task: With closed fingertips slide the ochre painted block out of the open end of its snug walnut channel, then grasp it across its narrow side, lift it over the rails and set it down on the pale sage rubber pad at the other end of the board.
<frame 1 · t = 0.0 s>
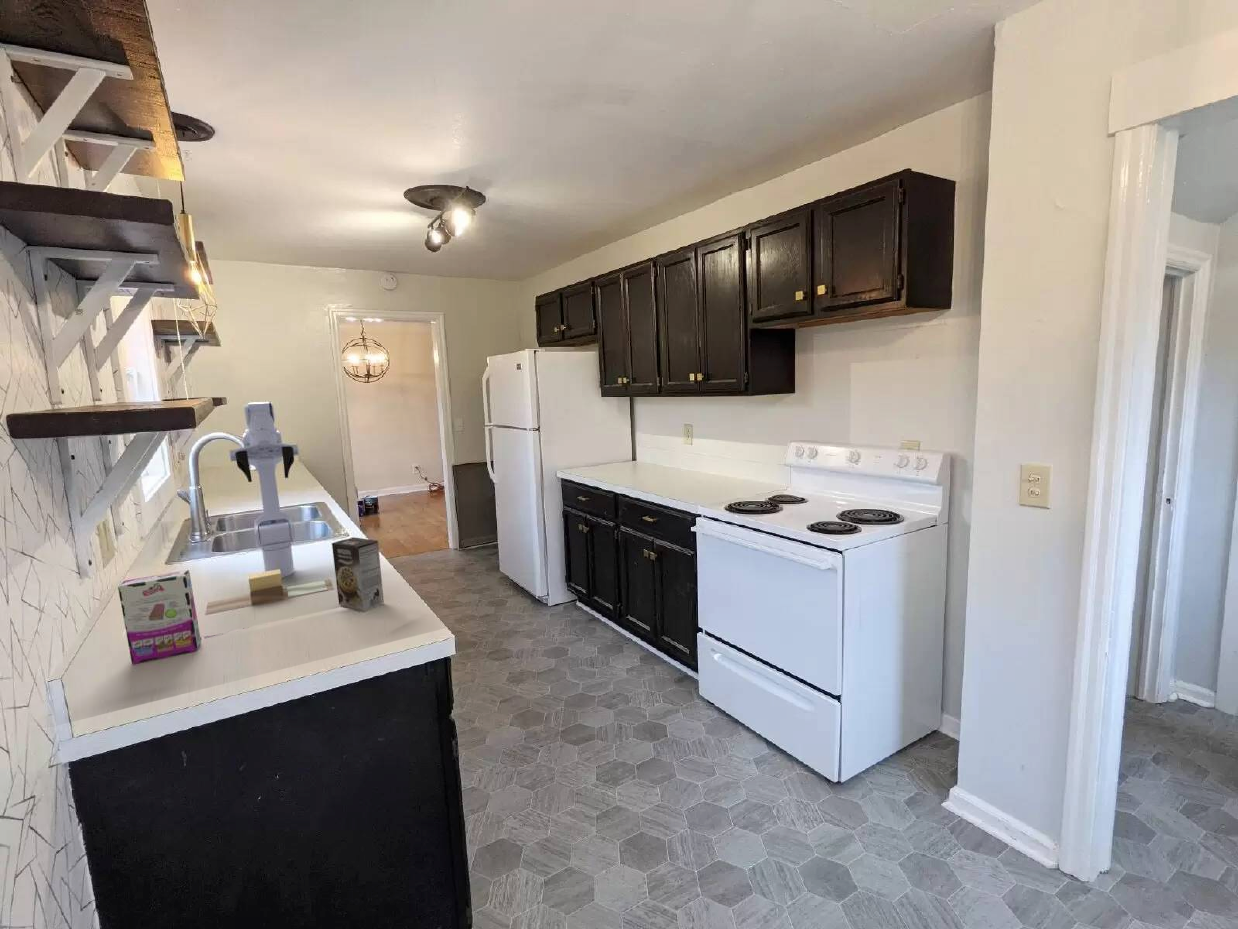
hand: (268, 477, 144), 32 cm above the worktop, tool tilted 50°, fingers open, 7 cm apart
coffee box: (361, 606, 147), on the worktop
candy bar box: (167, 654, 124), on the worktop
ochre block: (267, 596, 154), point 1 cm above the worktop, touching pocket board
pocket board: (272, 598, 154), on the worktop
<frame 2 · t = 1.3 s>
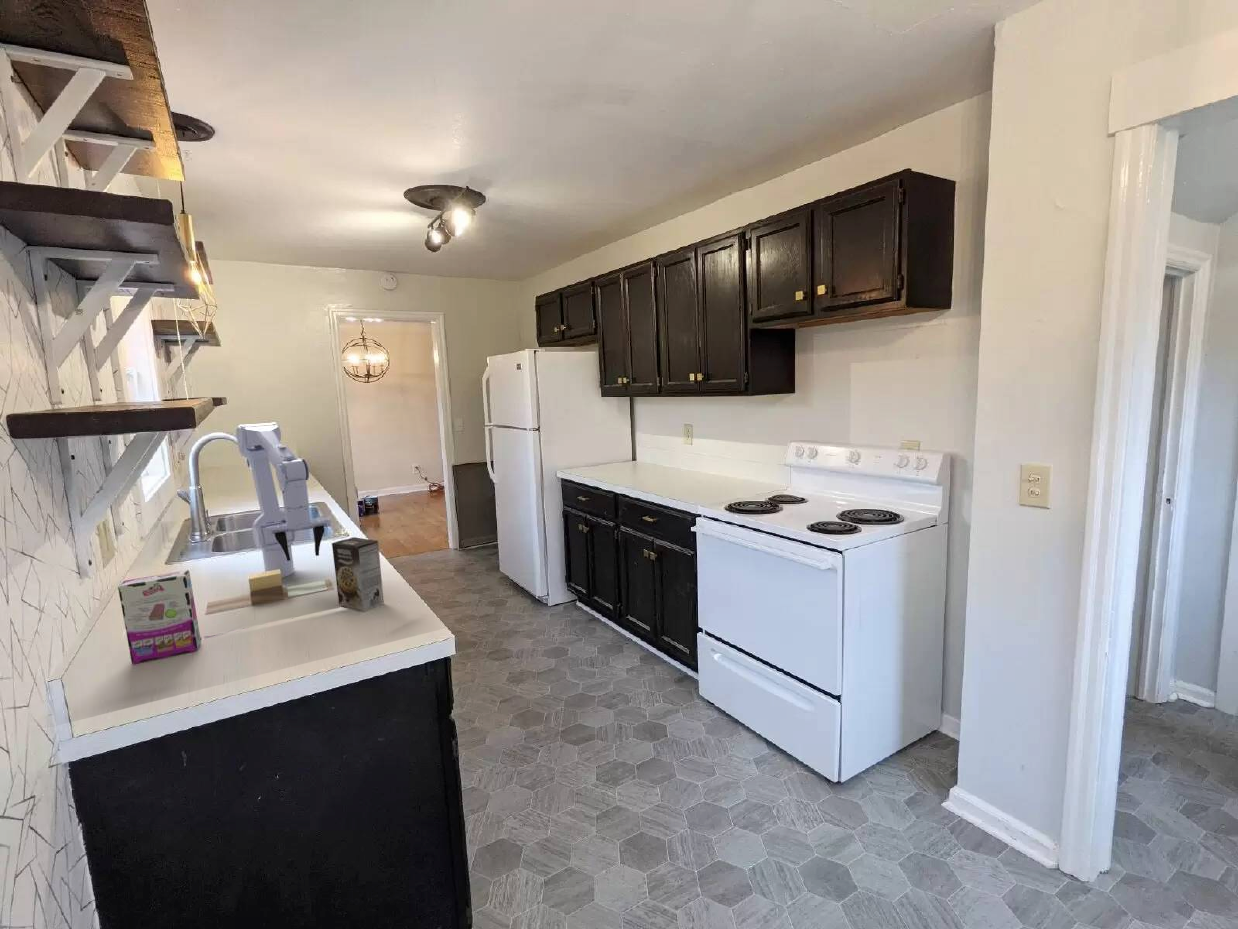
hand: (303, 557, 157), 9 cm above the worktop, tool pointing down, fingers open, 6 cm apart
nothing on the worktop moved.
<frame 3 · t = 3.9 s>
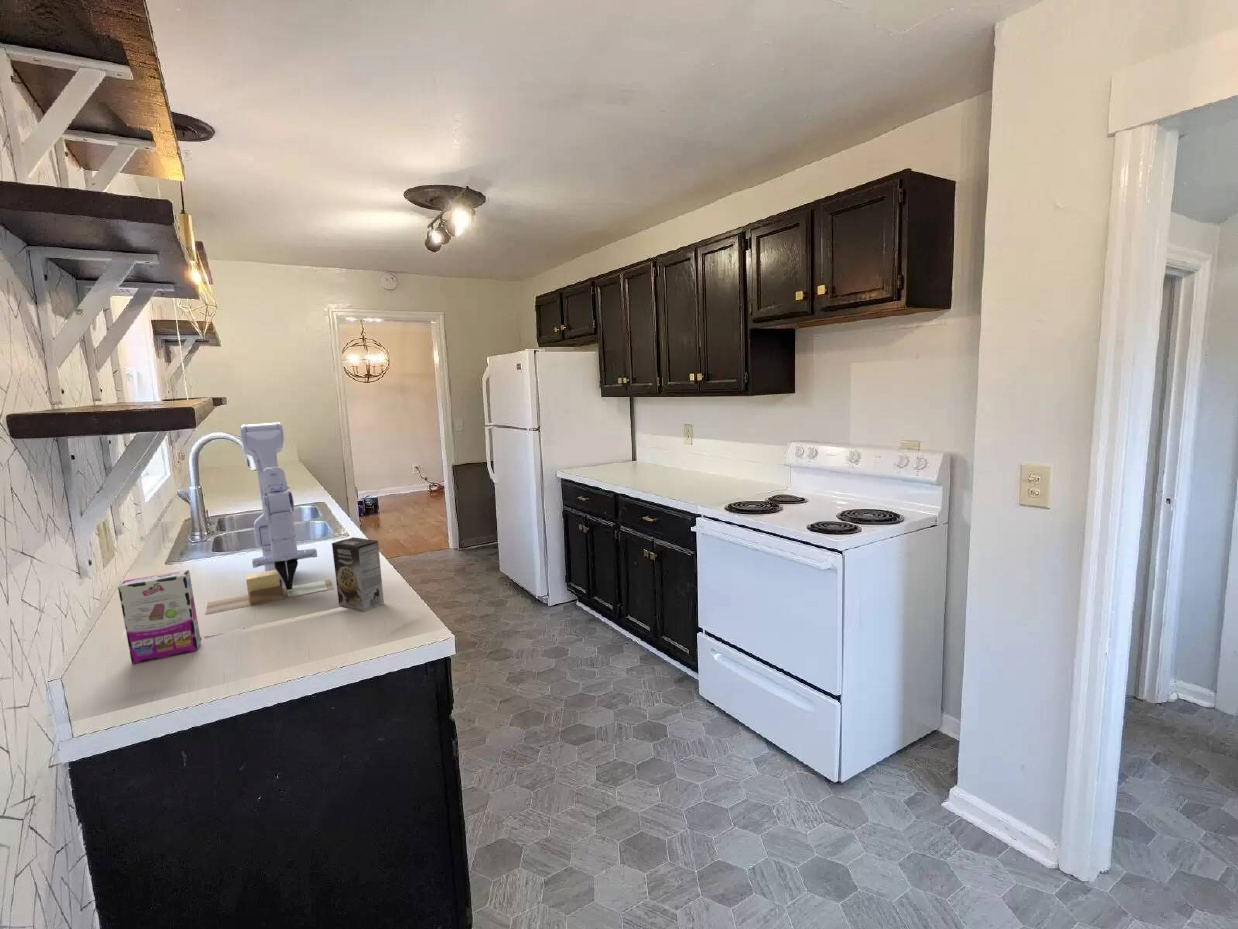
hand: (289, 588, 156), 2 cm above the worktop, tool pointing down, fingers closed
ochre block: (265, 597, 153), point 1 cm above the worktop, touching gripper
everything else where it was.
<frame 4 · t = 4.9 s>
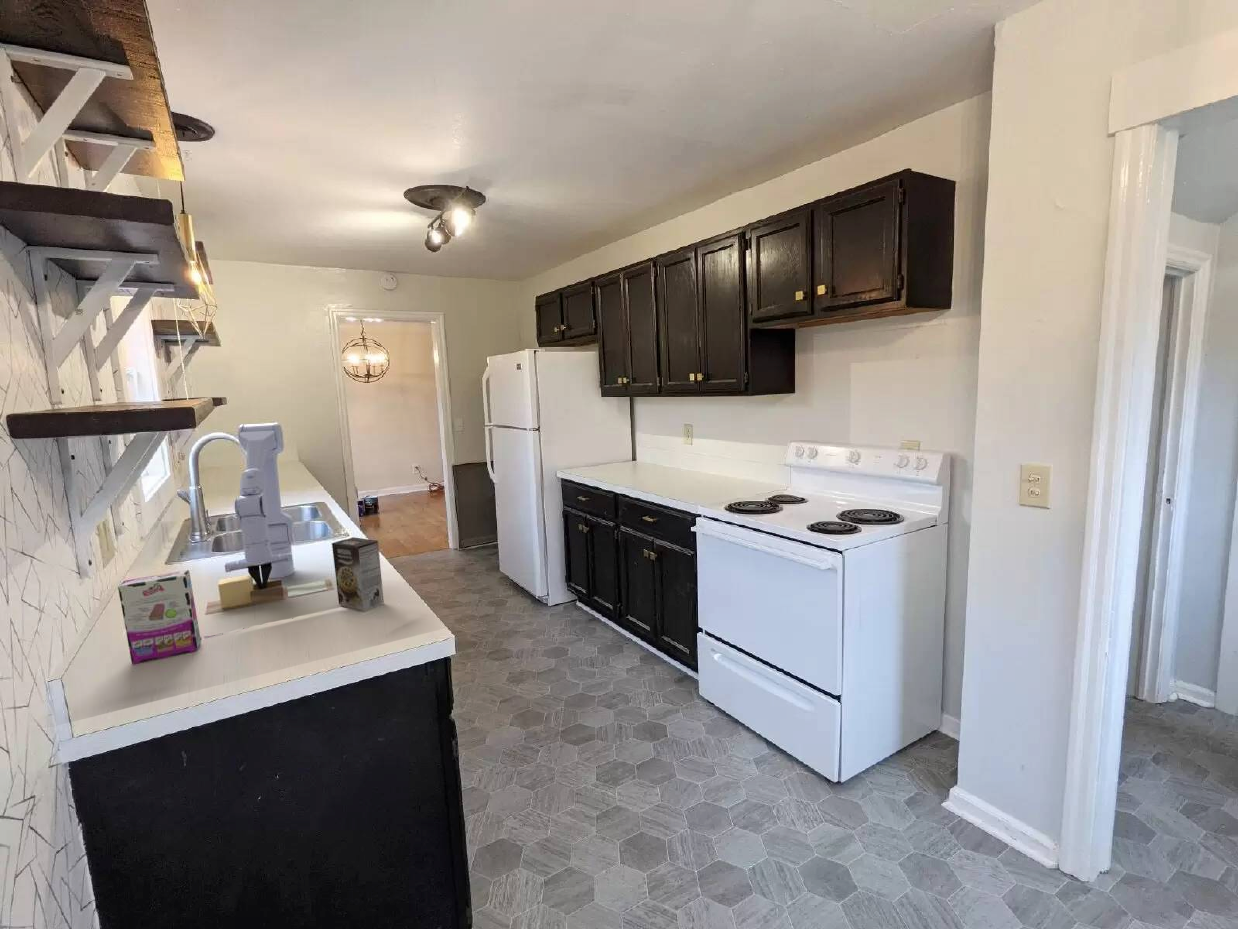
hand: (263, 593, 153), 2 cm above the worktop, tool pointing down, fingers closed
ochre block: (238, 602, 150), point 1 cm above the worktop, touching gripper
everything else where it was.
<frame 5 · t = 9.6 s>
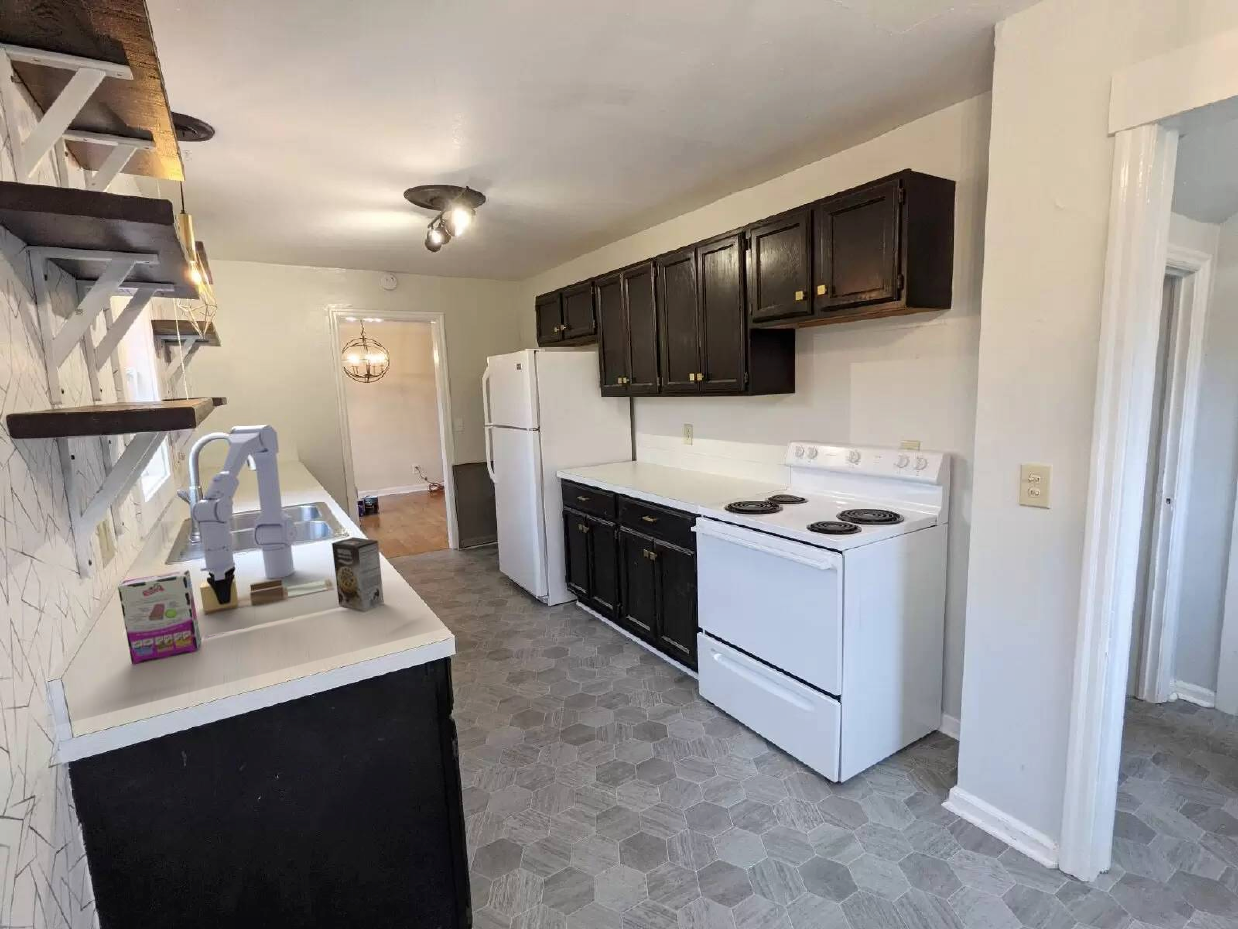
hand: (225, 600, 149), 2 cm above the worktop, tool pointing down, fingers closed on ochre block, 4 cm apart
ochre block: (221, 605, 149), point 1 cm above the worktop, touching gripper, pocket board
everything else where it was.
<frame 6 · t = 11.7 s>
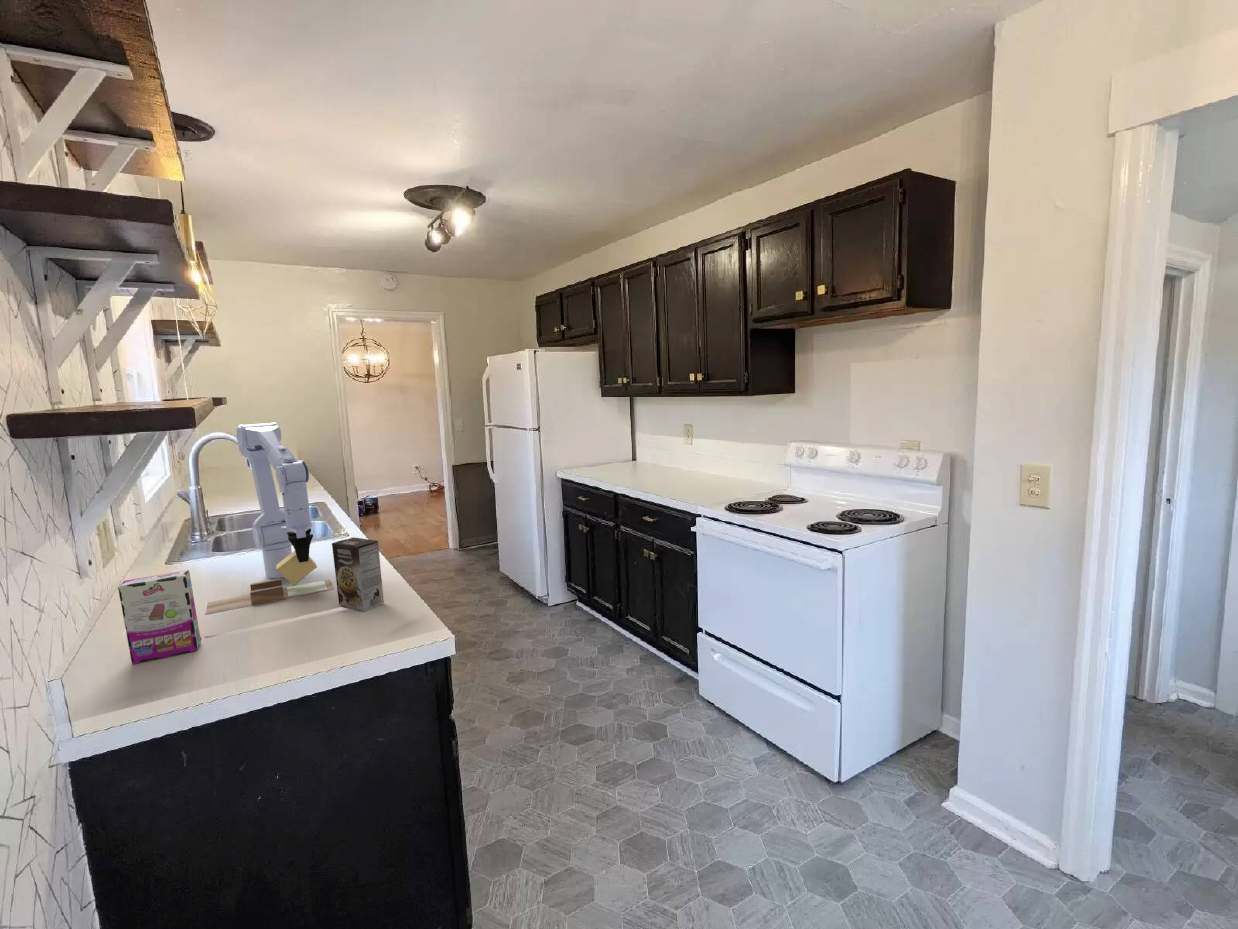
hand: (303, 559, 157), 9 cm above the worktop, tool pointing down, fingers closed on ochre block, 4 cm apart
ochre block: (304, 574, 158), point 5 cm above the worktop, tilted 32°, touching gripper
everything else where it was.
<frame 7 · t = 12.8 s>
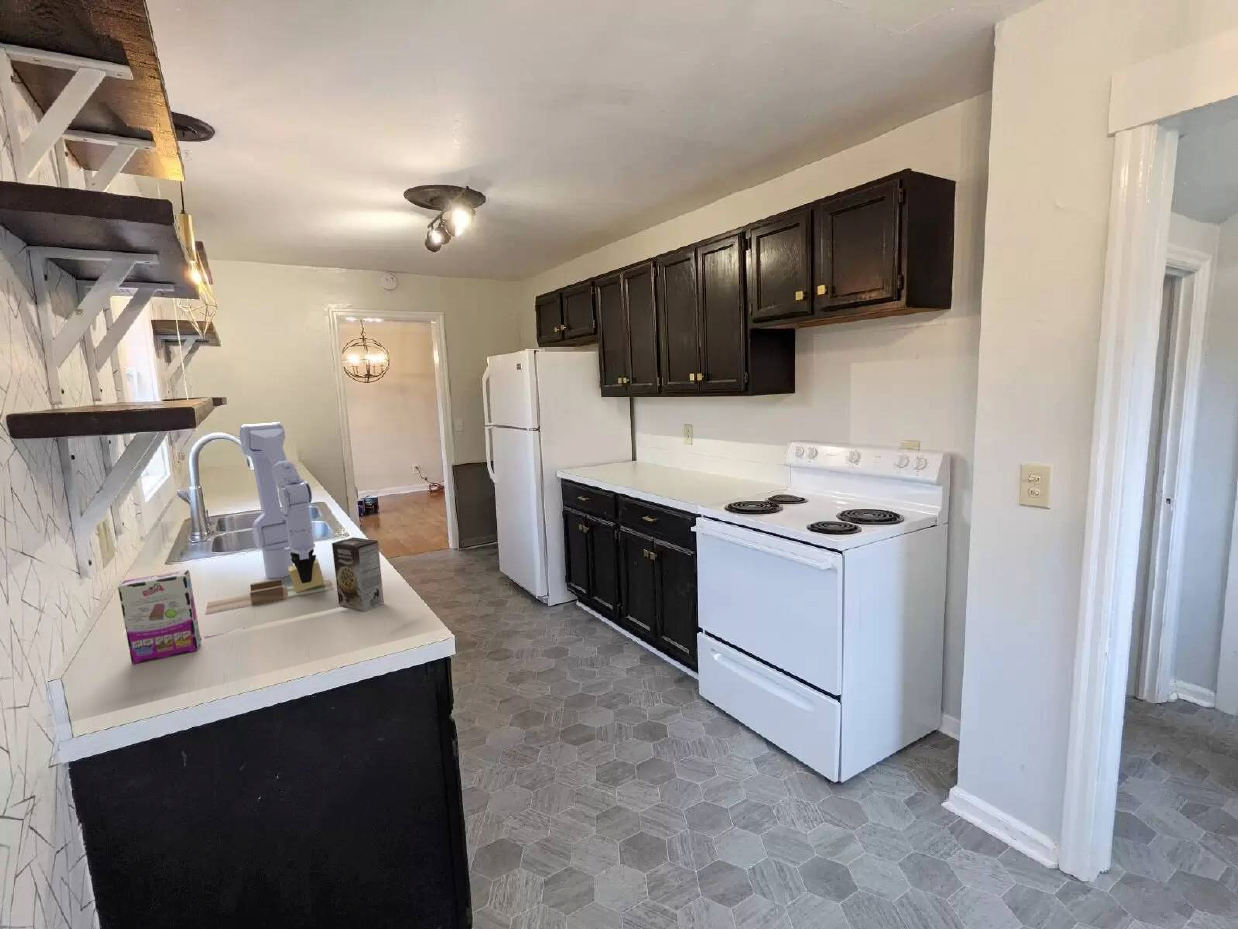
hand: (305, 579, 158), 3 cm above the worktop, tool pointing down, fingers closed on ochre block, 4 cm apart
ochre block: (309, 585, 159), point 2 cm above the worktop, tilted 8°, touching gripper, pocket board
everything else where it was.
when the fingers open (3 cm above the worktop, at t = 13.2 s): ochre block stays where it is, resting on pocket board.
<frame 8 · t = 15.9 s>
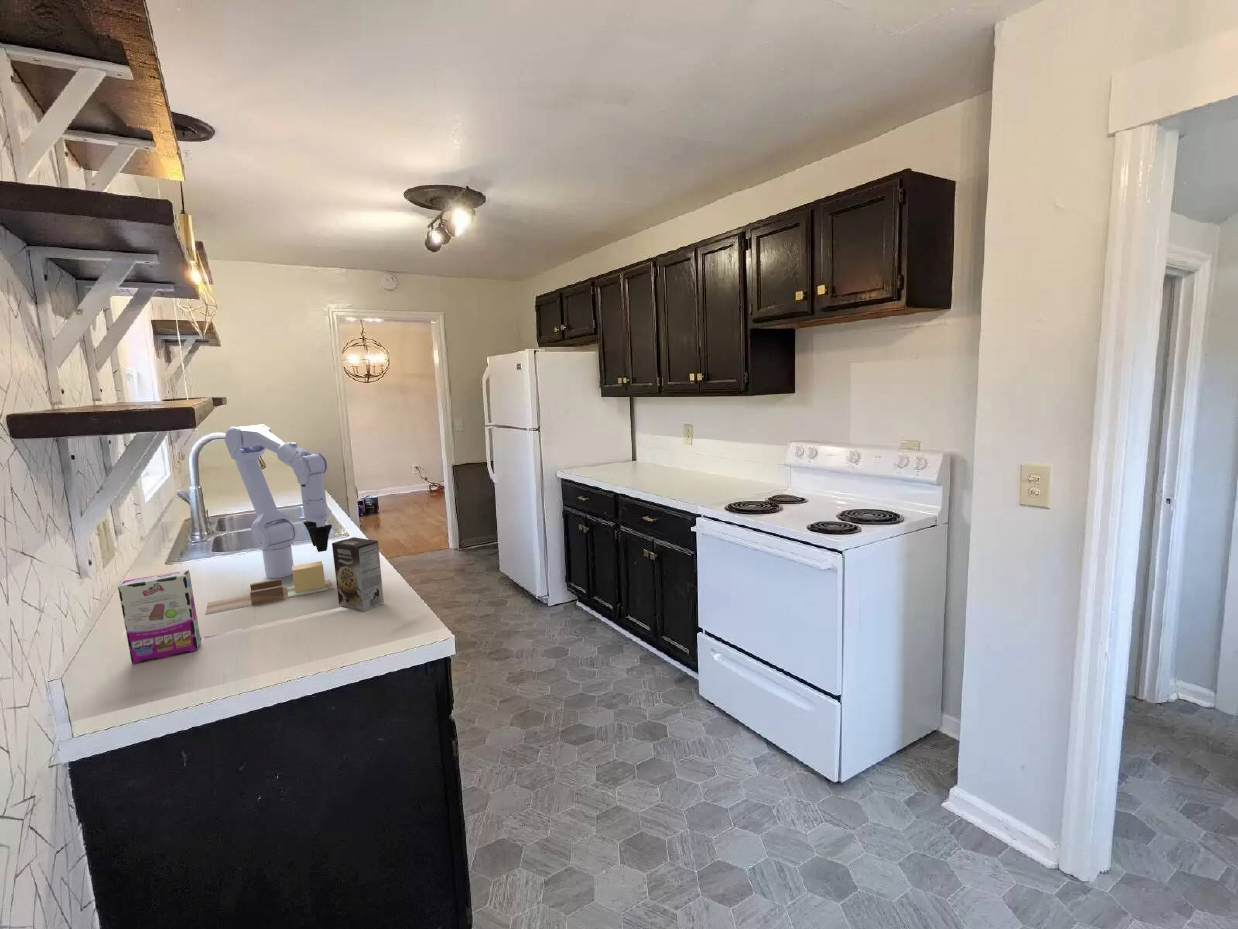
hand: (320, 548, 164), 10 cm above the worktop, tool pointing down, fingers open, 7 cm apart
ochre block: (310, 587, 159), point 1 cm above the worktop, touching pocket board
everything else where it was.
at the end: ochre block inside the target area on the pocket board (0.7 cm from its centre), point 1.0 cm above the pocket board's base; ochre block tilted 0°; the gripper is holding nothing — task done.
